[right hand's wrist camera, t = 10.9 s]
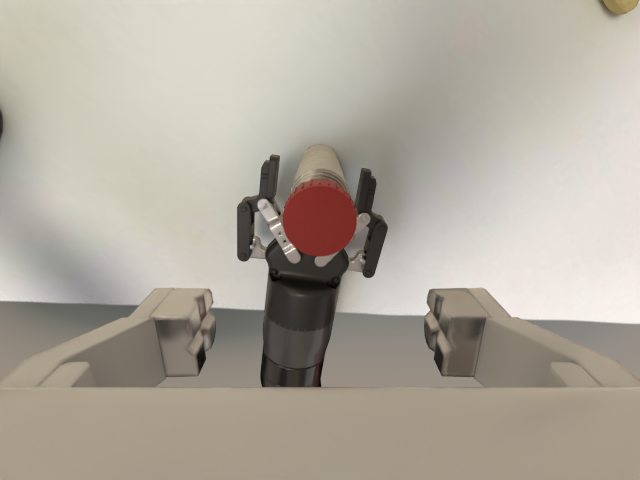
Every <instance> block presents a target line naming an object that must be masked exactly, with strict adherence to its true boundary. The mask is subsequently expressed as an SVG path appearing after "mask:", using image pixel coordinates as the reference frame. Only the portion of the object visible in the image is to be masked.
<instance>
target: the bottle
mask: <svg viewBox="0 0 640 480" xmlns="http://www.w3.org/2000/svg"><path fill="white" fill-rule="evenodd" d="M319 178H321V179H324V180H328V179H329V181H332V182H335V183H336V182H337V184H338V185H340V186H341V187H342V188H343V187H344V189H345V191H346V192H347V193H349V194H350V192H349V188H348V186H347V183H346V180H345V177H344V175H343V172H342V169H341V166H340V164H339V161H338V158H337V156H336V154H335V152H334V151H333V150H332V149H331V148H330V147H328V146H326V145H322V144H317V145H313V146H311V147H309V148H308V149H307V150H306V151H305V153H304V154H303V157H302V159H301V162H300V165H299V168H298V170H297V173H296V176H295V179H294V181H293V184H292V187H291V190H290V193H291V194H292V192H293V191H294V190H295V188H296V187H298V186H300V185H301V184H302V183H303V182H304V183H305V182H307V181H310V179H312V180H315V179H319ZM289 196H290V195H289Z"/></svg>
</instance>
